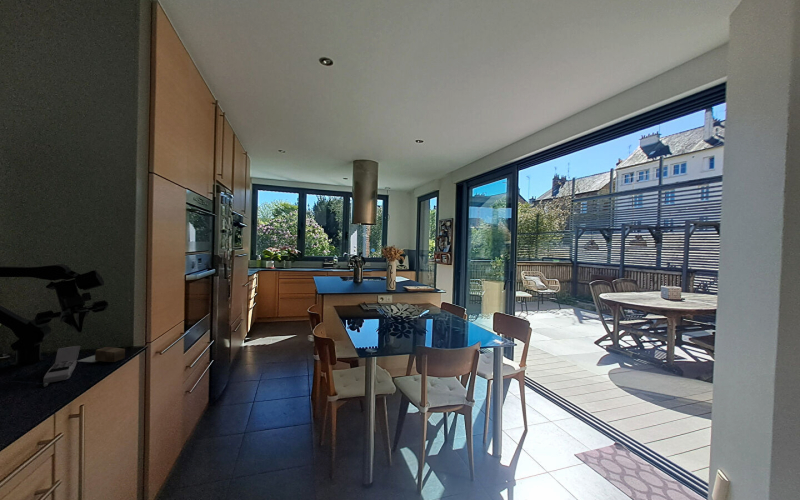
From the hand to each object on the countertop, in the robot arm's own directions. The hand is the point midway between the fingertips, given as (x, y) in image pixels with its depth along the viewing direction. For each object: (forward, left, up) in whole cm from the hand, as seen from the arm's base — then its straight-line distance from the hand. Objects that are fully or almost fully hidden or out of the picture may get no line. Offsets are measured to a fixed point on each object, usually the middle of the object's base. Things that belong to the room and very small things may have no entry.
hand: (79, 332), depth 115 cm
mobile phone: (+6, -8, -12) cm, 15 cm away
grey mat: (+2, +3, -11) cm, 12 cm away
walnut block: (+4, +4, -9) cm, 11 cm away
